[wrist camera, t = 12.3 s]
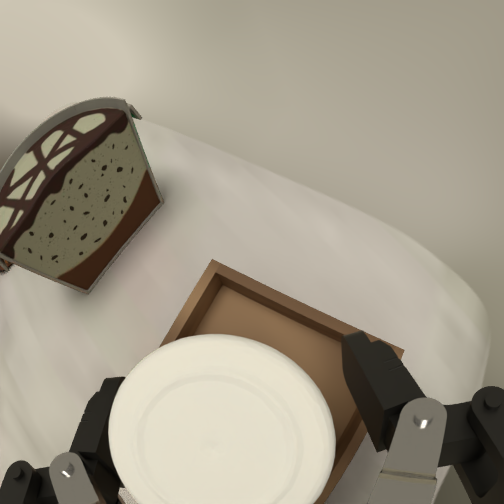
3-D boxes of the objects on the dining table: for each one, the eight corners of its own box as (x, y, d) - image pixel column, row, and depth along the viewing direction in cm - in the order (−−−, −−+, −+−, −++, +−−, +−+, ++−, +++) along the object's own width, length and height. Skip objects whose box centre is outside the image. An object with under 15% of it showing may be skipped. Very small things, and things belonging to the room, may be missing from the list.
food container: (130, 162, 26) (83, 79, 17) (176, 189, 24) (131, 93, 15) (42, 266, 23) (-36, 209, 14) (77, 309, 21) (-16, 258, 12)
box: (296, 517, 14) (299, 536, 11) (132, 428, 17) (111, 432, 14) (387, 355, 18) (404, 349, 15) (221, 276, 21) (212, 259, 18)
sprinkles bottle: (310, 417, 16) (383, 481, 4) (243, 453, 16) (175, 569, 3) (271, 355, 18) (257, 285, 6) (205, 391, 17) (68, 387, 5)
